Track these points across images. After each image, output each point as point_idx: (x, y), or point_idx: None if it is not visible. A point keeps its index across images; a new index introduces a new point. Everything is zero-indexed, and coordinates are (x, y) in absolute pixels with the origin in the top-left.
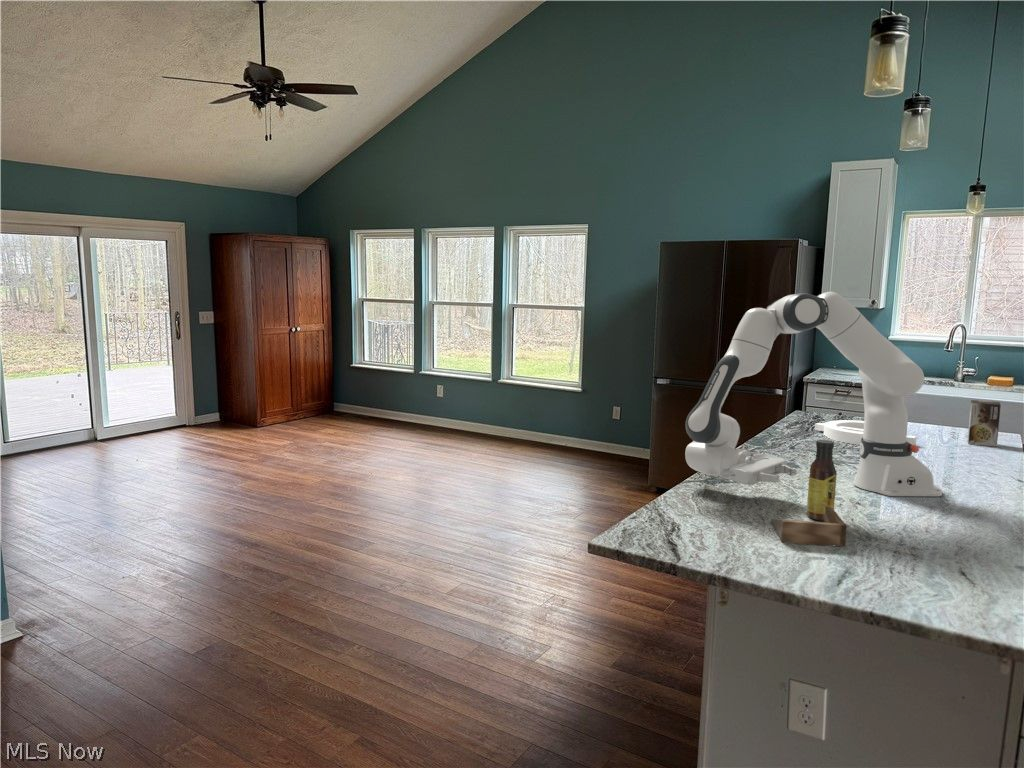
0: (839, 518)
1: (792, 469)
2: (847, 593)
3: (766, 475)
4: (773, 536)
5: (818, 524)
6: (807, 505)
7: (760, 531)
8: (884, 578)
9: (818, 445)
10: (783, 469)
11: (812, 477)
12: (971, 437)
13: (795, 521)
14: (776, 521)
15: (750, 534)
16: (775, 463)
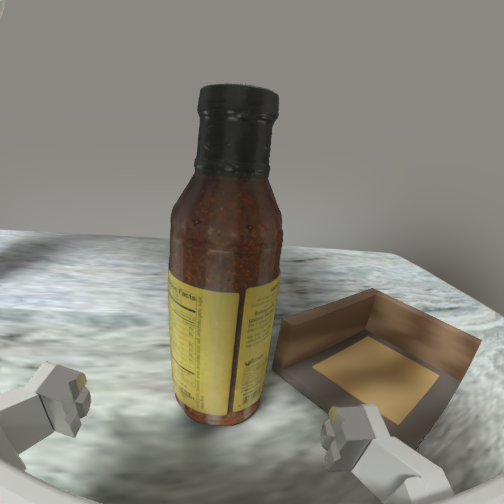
0: (349, 298)
1: (74, 375)
2: (458, 301)
3: (412, 455)
4: (459, 404)
5: (418, 311)
6: (245, 397)
7: (471, 433)
8: (396, 291)
9: (275, 110)
10: (12, 446)
11: (274, 275)
12: None
13: (456, 330)
14: (407, 439)
15: (499, 428)
16: (15, 477)
